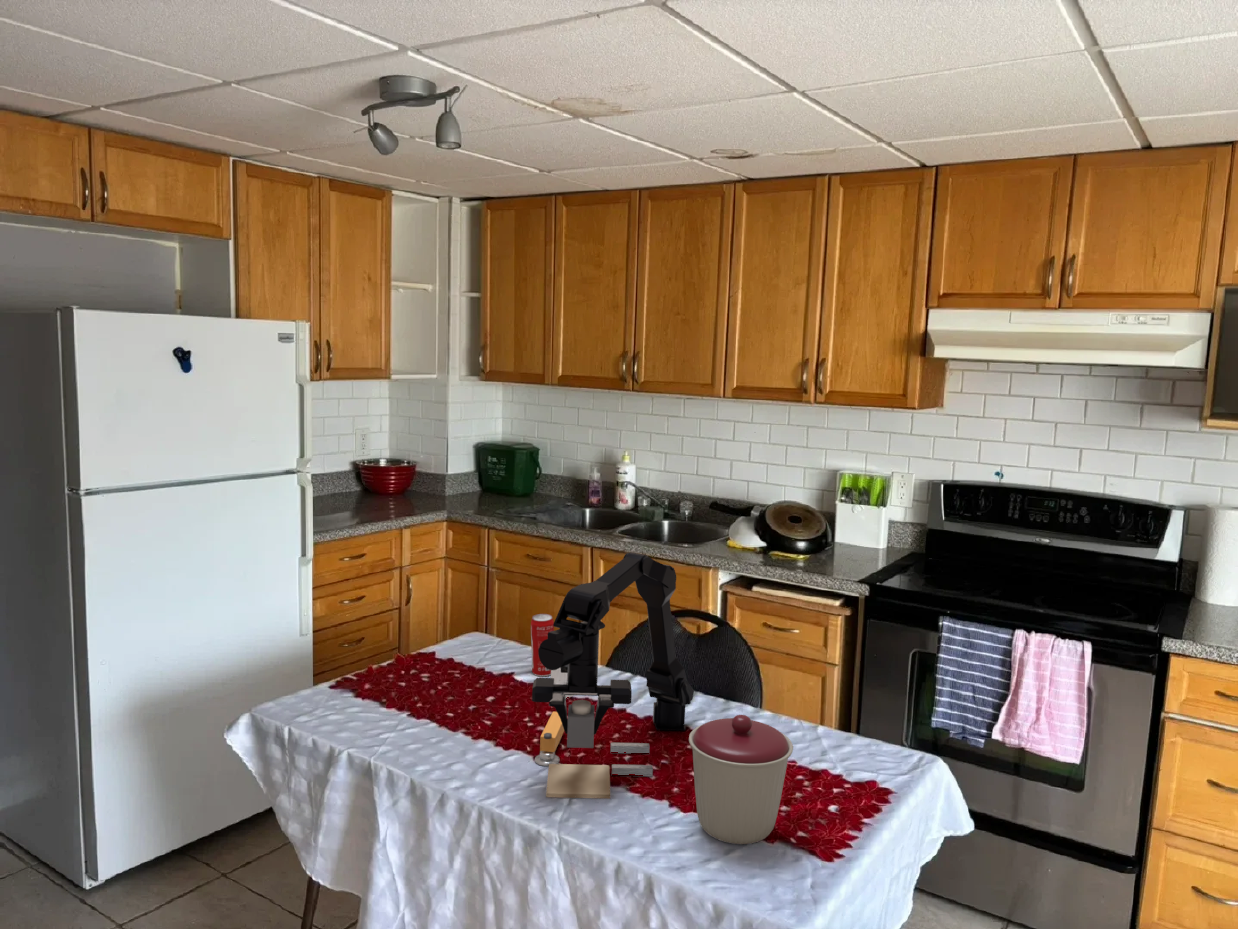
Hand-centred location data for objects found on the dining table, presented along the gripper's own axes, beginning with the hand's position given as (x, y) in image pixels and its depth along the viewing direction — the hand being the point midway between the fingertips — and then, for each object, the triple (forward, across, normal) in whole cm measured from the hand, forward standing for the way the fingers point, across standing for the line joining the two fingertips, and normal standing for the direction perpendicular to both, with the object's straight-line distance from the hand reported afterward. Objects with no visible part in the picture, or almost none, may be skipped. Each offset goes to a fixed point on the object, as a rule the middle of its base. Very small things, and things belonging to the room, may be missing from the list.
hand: (580, 733), depth 180 cm
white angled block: (+10, +4, -44) cm, 45 cm away
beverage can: (+10, +10, -58) cm, 60 cm away
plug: (+2, 0, 0) cm, 2 cm away
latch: (+8, +6, -15) cm, 18 cm away
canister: (+10, -28, +16) cm, 34 cm away
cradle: (+10, -3, -9) cm, 14 cm away
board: (+10, 0, 0) cm, 10 cm away
